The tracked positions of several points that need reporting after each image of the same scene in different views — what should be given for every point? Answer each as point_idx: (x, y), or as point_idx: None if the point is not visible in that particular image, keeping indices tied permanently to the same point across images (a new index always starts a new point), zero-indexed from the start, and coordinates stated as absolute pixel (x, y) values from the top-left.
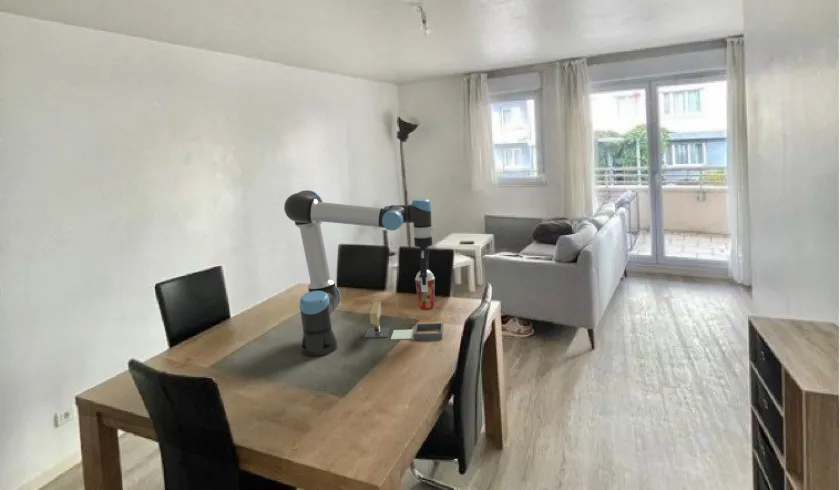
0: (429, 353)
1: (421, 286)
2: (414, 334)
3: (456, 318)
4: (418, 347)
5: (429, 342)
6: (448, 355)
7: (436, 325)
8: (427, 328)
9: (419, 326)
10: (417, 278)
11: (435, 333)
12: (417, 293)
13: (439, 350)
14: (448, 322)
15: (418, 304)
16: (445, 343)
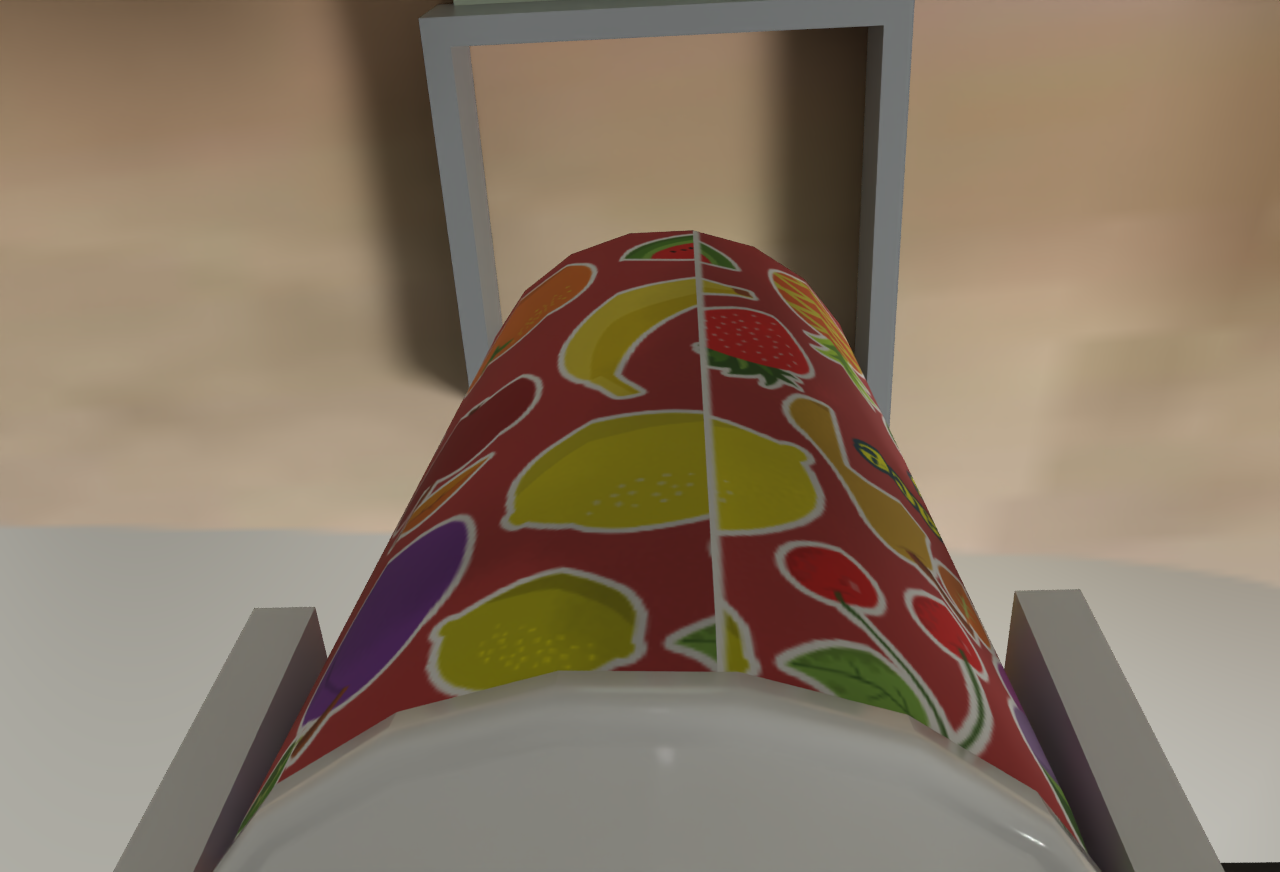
0: (10, 289)
1: (178, 768)
2: (420, 32)
3: (1235, 543)
4: (164, 116)
5: (359, 254)
6: (16, 504)
7: (864, 332)
8: (863, 178)
9: (874, 52)
10: (318, 868)
11: (469, 362)
12: (521, 393)
13: (128, 400)
14: (1099, 450)
15: (601, 256)
16: (350, 454)
